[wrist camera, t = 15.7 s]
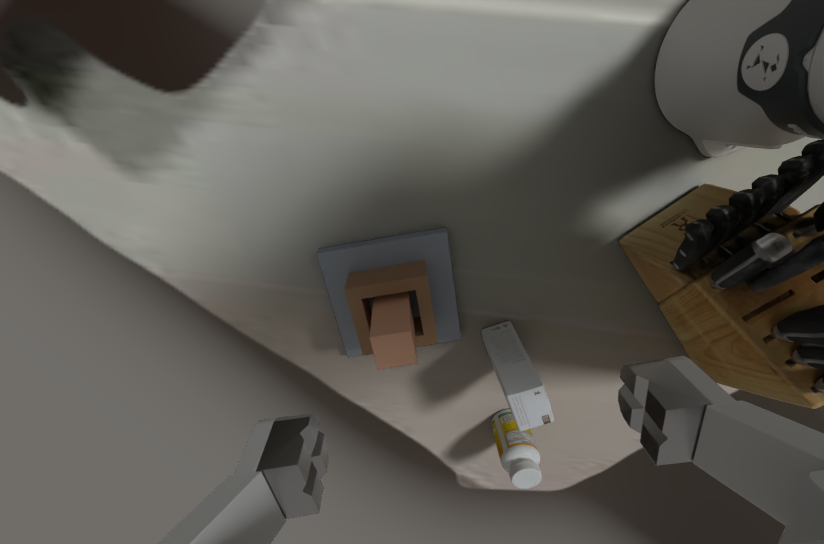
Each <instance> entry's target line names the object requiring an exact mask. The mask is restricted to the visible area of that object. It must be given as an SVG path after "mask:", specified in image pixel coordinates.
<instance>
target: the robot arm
mask: <svg viewBox="0 0 824 544" xmlns="http://www.w3.org/2000/svg"><path fill="white" fill-rule="evenodd" d="M655 92H656V97H657V101H658V104H659V107H660V109H661V111H662V113H663V115H664V116H665V118H666V119H667V120H668V121H669V122H670V123H671V124H672V125H673V126H674V127H676V128H677V129H679V130H680V131H682V132H684V133H686V134H687V135H689V136H690V137H691V138H692V139H693V140H694V142H695V144H696V146H697V148H698V149H699V151H700V152H701V154H703V155H704V156H706V157H719V156H722V155H725V154H728V153H730V152H733V151H736V150H739V149H742V148H744V147H753V148H764V149H778V148H781V147H782V145H783V144H787V143H790V142H794V141H796V140H799V139H801V138H803V137H806V136H807V137H810V138H817V139H824V0H689V1H688V3H687V4H686V5H685V6H684V7H683V9H682V10H681V11H680V12H679V14H678V15H677V17H676V18H675V20H674V21H673V23H672V25H671V26H670V28H669V30H668V32H667V34H666V36H665V38H664V40H663V43H662V45H661V48H660V51H659V55H658V59H657V63H656V69H655ZM620 378H621V380H622V381H623V382H624V383H625V384H624V385H623V386H622V387H621V388H620V389H619V392H618V402H619V406H620V411H621V413H622V415H623V417H624V419H625V421H626V422H627V424H628V425H629V427H630V428H632V429H634V430H636V431H637V432H639V433H641V439H640V443H641V444H642V446H643V447H644V448H645V450H646V451H647V453H648V454H649V456H650V457H651V458H652V460H653V461H654V463H655V464H656V465H664V464H673V463H682V462H691V461H693V464H695V465H696V466H698V467H699V468H701V469H702V470H704V471H705V472H707V473H708V474H710V475H711V476H713V477H714V478H716V479H717V480H719V481H720V482H721V483H723V484H724V485H726V486H727V487H729V488H730V489H732V490H734V491H735V492H736V493H738V494H739V495H741V496H742V497H744V498H745V499H747V500H748V501H750V502H751V503H753V504H754V505H756V506H757V507H759V508H760V509H762V510H763V511H764V512H766V513H768V514H769V515H770V516H772V517H773V518H775V519H776V520H778V521H779V522H781V523H782V524H784V525H785V526H786V528H785V530H784V532H783V534H782V536H781V539H780V541H779V544H824V434H823V433H820V432H818V431H815V430H813V429H811V428H808V427H806V426H803V425H801V424H798V423H796V422H794V421H791V420H789V419H786V418H783V417H782V416H779V415H777V414H774V413H772V412H769V411H767V410H765V409H762V408H759V407H757V406H755V405H753V404H750V403H748V402H745V401H735V400H734V399H733V398H732V397H731V396H730V395H729V394H728V393H727V392H726V391H724V390H723V389H722V388H721V387H720V386H719V385H718V384H717V383H716V382H715V381H713V380H712V379H711V378H710V377H709V376H708V375H707V374H706V373H705V372H704V371H702V370H701V369H700V368H699V367H698V366H697V365H696V364H695V363H694V362H693V361H692V360H690V359H689V358H687V357H685V356H679V357H672V358H666V359H662V360H655V361H648V362H642V363H636V364H630V365H624V366H623V367H622V369H621V372H620ZM319 425H320V422H319V419H318V417H317V414H315V413H308V414H300V415H293V416H285V417H278V418H272V419H264V420H259V421H258V422H257V423H256V424H255V426H254V428H253V430H252V433H251V436H250V438H249V440H248V442H247V445H246V447H245V450H244V452H243V454H242V457H241V459H240V461H239V464H238V466H237V468H236V471H235V474H234V475H232V476H228V477H227V478H226V479H224V480H223V481H222V482H221V483H220V484H219V485H218V486H217V487H216V488H215V489H214V490H213V491H212V492H211V493H210V494H209V495H208V496H207V497H206V498H205V499H203V501H201V502H200V504H198V505H197V506H196V507H195V508H194V509H193V510H192V511H191V512H190V513H189V514H188V515H187V516H186V517H185V518H184V519H182V520H181V521H180V522H179V523H178V524H177V525H176V526H175V527H174V528H173V529H172V530H171V531H170V532H169V533H168V534H167V535H166V536H165V537H164V538H163V539H162V540H160V541H159V542H158V543H157V544H271V542H272V541H273V539H274V538H275V536H276V535H277V534H278V532H279V531H280V529H281V528H282V526H283V525H284V524H285V522H286V520H285V519H289V518H295V517H301V516H307V515H312V514H318V513H319V511H320V505H321V500H322V495H323V489H324V487H323V485H322V482H321V478H322V477H323V475H324V474H325V473H326V472H327V466H328V445H327V440H326V437H325V435H324V434H323V433H321V432H320V431H318V430H319Z"/></svg>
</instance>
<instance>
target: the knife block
mask: <svg viewBox="0 0 824 544" xmlns="http://www.w3.org/2000/svg"><path fill="white" fill-rule="evenodd" d="M823 175H824V139H822V140H817V141H814V142H811V143H809V144H807V145H806V146H805V147H804V149H803V150H802V156H797V157H794V158H791V159H788V160H786V161H784V162H782V164H781V166H780V167H779V168H778V175H773V174H771V175H767V176H762V177H759V178H757V179H756V180H755V181H754V182H753V183H752V189H747V190H742V191H739V192H737V191H733V190H730V189H726V188H722V187H718V186H714V185H710V184H703V185H701V186H700V187H698V188H697V189H695V190H694V191H692V192H691V193H689V194H688V195H686V196H685V197H683V198H682V199H680V200H678V201H677V202H675V203H674V204H672V205H671V206H669V207H668V208H666V209H665V210H663V211H662V212H660V213H659V214H657V215H656V216H654V217H653V218H651V219H650V220H648V221H647V222H645V223H644V224H642V225H641V226H639V227H638V228H636V229H635V230H633V231H632V232H630V233H629V234H627V235H626V236H624V237H623V238H622V239H621V240H620V241H619V243H620V245H621V247H622V248H623V250H624V251H625V253H626V255H627V256H628V258H629V259H630V261H631V263H632V264H633V266H634V267H635V269H636V271H637V272H638V274H639V275H640V277H641V279H642V280H643V282H644V283H645V285H646V286H647V288H648V289H649V291H650V292H651V294H652V295H653V297H654V298H655V299H656V300H657V302H659V303H660V304H659V307H660V310H661V311H662V313H663V315H664V316H665V318H666V320H667V321H668V323H669V325H670V326H671V328H672V329H673V331H674V333H675V334H676V336H677V338H678V339H679V341H680V343H681V344H682V346H683V347H684V349H685V351H686V352H687V354H688V356H689V357H690V359H691V360H692V361H693V362H694V363H695V364H696V365H697V366H698V367H699V368H700V369H701V370H702V371H704V372H705V373H706V374H707V375H708V376H709V377H710V378H711V379H712V380H713V381H715V382H716V383H719V384H722V385H726V386H729V387H733V388H736V389H740V390H744V391H747V392H751V393H754V394H758V395H762V396H765V397H769V398H773V399H777V400H780V401H784V402H788V403H792V404H796V405H800V406H804V407H809V408H818V407H820V406H823V405H824V202H823V203H822V204H819V205H816V206H814V207H812V208H811V209H809V210H808V211H806V212H804V213H803V214H801V213H800V212H799V211H798V210H797V209H795V208H793V207H791V206H789V205H790V204H791V203H792V202H794V201H795V200H796V199H797V198H798V197H799V196H801V195H802V194H803V193H804V192H806V191H807V190H808V189H809V188H810V187H811V186H812V185H813V184H815V183H816V182H817V181H818V180H819V179H820V178H821V177H822V176H823Z"/></svg>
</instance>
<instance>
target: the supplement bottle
mask: <svg viewBox="0 0 824 544" xmlns="http://www.w3.org/2000/svg"><path fill="white" fill-rule="evenodd" d="M491 427H492V431H493V434H494V438H495V442H496V446H497V449H498V453H499V457H500V461H501V464H502V466H503V468H504V469H505V470H506V471H507V472H509V476H510V478H511V481H512V484H513V485H514V486H516V487H518V488H522V489H527V488H532V487H534V486H536V485H537V484H539V482H540V481H541V479H542V474H541V471H540V468H539V466H538V465H539V462H540V455H539V452H538V449H537V446H536V444H535V441H534V439H533V436H532V433H531V431H530V429H528V430H525V431H521V432H520V431H519V429H518V426H517V424H516V421H515V419H514V416H513V414H512V412H511V409H505V410H502V411H500V412H498V413H497V414H496V415H495V416H494V417H493V419H492V422H491Z"/></svg>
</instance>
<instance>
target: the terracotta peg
mask: <svg viewBox="0 0 824 544" xmlns="http://www.w3.org/2000/svg"><path fill="white" fill-rule="evenodd" d="M370 341H371V345H372V349H373V353H374V357H375V361H376V364H377V368H378V370H380V369H386V368H393V367H399V366H405V365H412V364H417V354H416V341H415V329H414V316H413V308H412V302H411V297H410V292H409V291H407V292H401V293H395V294H389V295H383V296H376V297H374V299H373V309H372V319H371V328H370Z"/></svg>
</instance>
